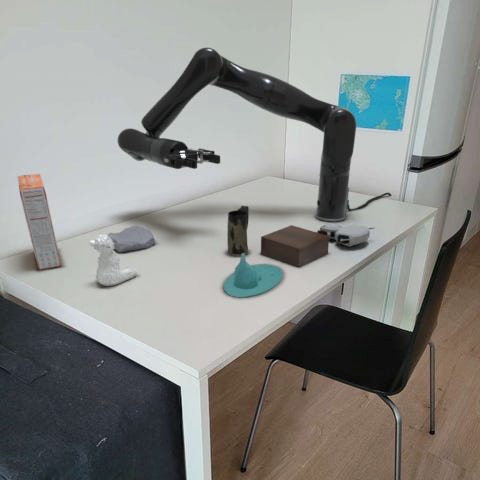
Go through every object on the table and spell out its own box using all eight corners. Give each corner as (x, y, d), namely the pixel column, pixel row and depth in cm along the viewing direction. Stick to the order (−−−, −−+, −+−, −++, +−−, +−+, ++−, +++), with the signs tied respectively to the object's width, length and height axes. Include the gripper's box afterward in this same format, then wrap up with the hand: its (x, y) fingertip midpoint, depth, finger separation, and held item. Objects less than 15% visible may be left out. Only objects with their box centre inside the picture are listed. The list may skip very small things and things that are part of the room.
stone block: (159, 249, 139) (139, 234, 144) (159, 235, 136) (138, 220, 141) (123, 262, 132) (104, 246, 137) (123, 247, 129) (102, 231, 134)
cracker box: (34, 252, 133) (16, 175, 123) (57, 248, 135) (41, 172, 125) (37, 271, 122) (17, 188, 112) (62, 267, 124) (45, 185, 114)
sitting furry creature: (138, 275, 120) (132, 228, 114) (123, 290, 112) (116, 241, 106) (103, 271, 121) (95, 226, 115) (86, 286, 114) (77, 238, 108)
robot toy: (308, 243, 140) (354, 252, 131) (308, 228, 138) (355, 236, 129) (331, 232, 148) (376, 240, 139) (331, 218, 146) (377, 225, 137)
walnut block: (290, 241, 140) (291, 225, 137) (327, 253, 132) (329, 235, 129) (260, 254, 131) (260, 236, 129) (298, 267, 124) (299, 248, 121)
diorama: (293, 270, 122) (294, 237, 118) (256, 302, 107) (257, 266, 102) (250, 261, 127) (250, 230, 123) (210, 291, 112) (209, 256, 108)
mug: (241, 257, 129) (241, 214, 123) (223, 254, 131) (222, 211, 125) (255, 248, 135) (255, 206, 129) (238, 245, 137) (237, 203, 131)
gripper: (148, 142, 132) (187, 151, 122) (187, 136, 141) (226, 144, 132) (150, 170, 136) (188, 181, 126) (188, 162, 145) (226, 172, 135)
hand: (208, 162), depth 129 cm, fingers open, 8 cm apart
